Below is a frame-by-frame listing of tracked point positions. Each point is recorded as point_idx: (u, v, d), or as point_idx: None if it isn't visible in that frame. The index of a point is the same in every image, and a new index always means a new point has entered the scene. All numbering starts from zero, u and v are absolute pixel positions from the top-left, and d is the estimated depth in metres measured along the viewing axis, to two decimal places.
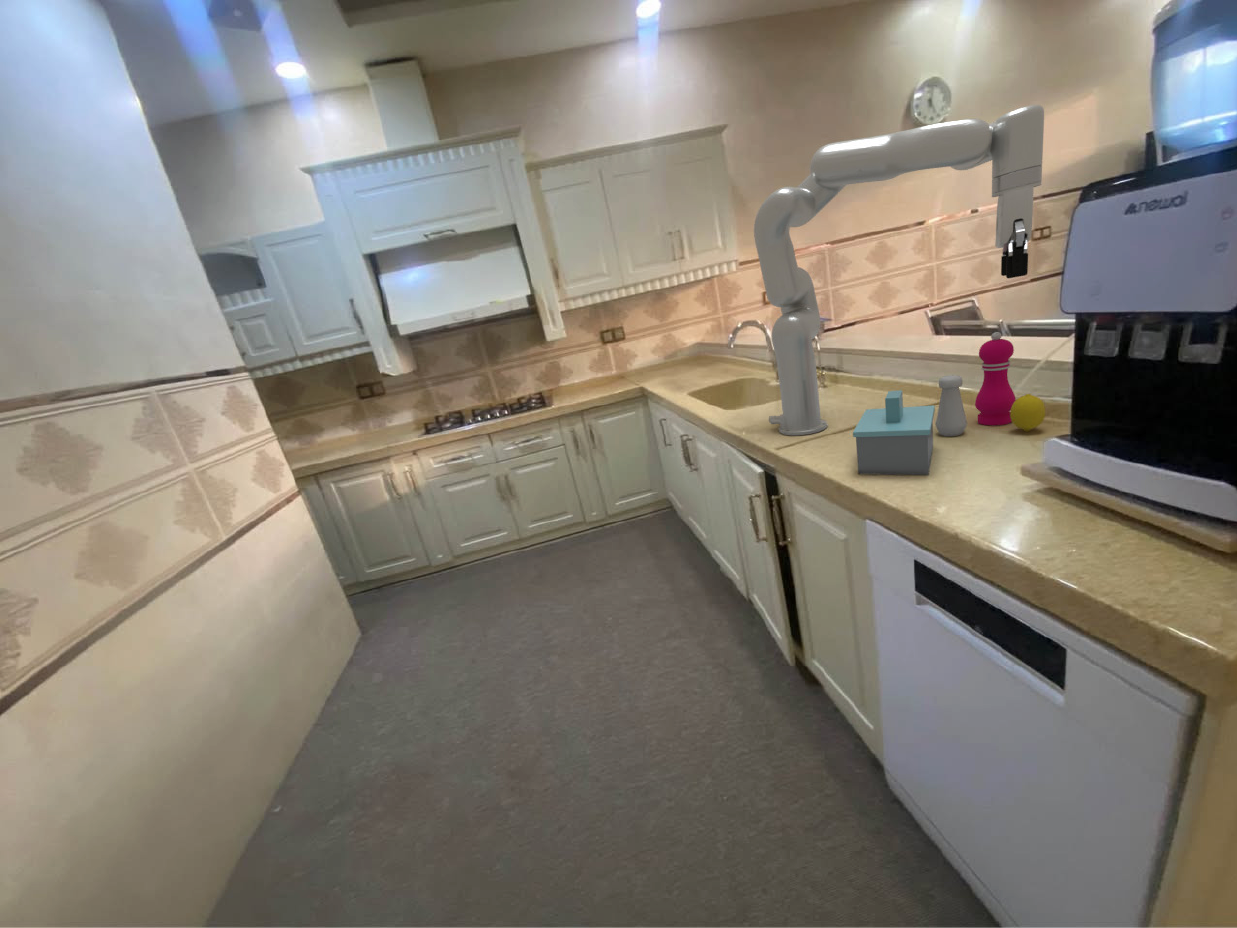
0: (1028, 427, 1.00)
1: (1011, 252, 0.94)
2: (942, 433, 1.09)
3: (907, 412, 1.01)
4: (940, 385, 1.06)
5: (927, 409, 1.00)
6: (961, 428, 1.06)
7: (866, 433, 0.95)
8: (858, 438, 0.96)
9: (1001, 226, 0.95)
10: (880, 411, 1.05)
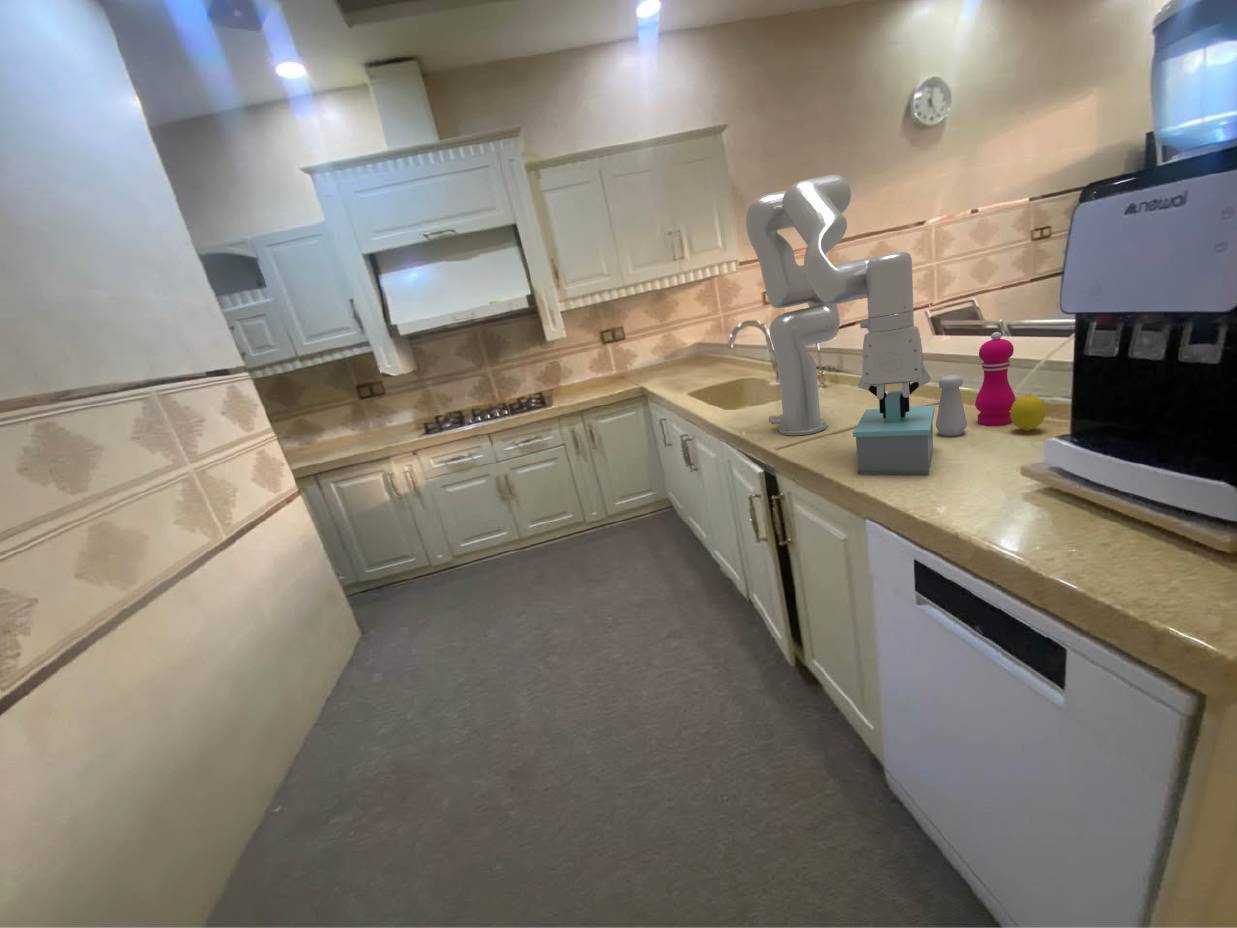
0: (1028, 427, 1.00)
1: (909, 394, 0.95)
2: (942, 433, 1.09)
3: (907, 412, 1.01)
4: (940, 385, 1.06)
5: (927, 409, 1.00)
6: (961, 428, 1.06)
7: (866, 433, 0.95)
8: (858, 438, 0.96)
9: (918, 360, 0.91)
10: None
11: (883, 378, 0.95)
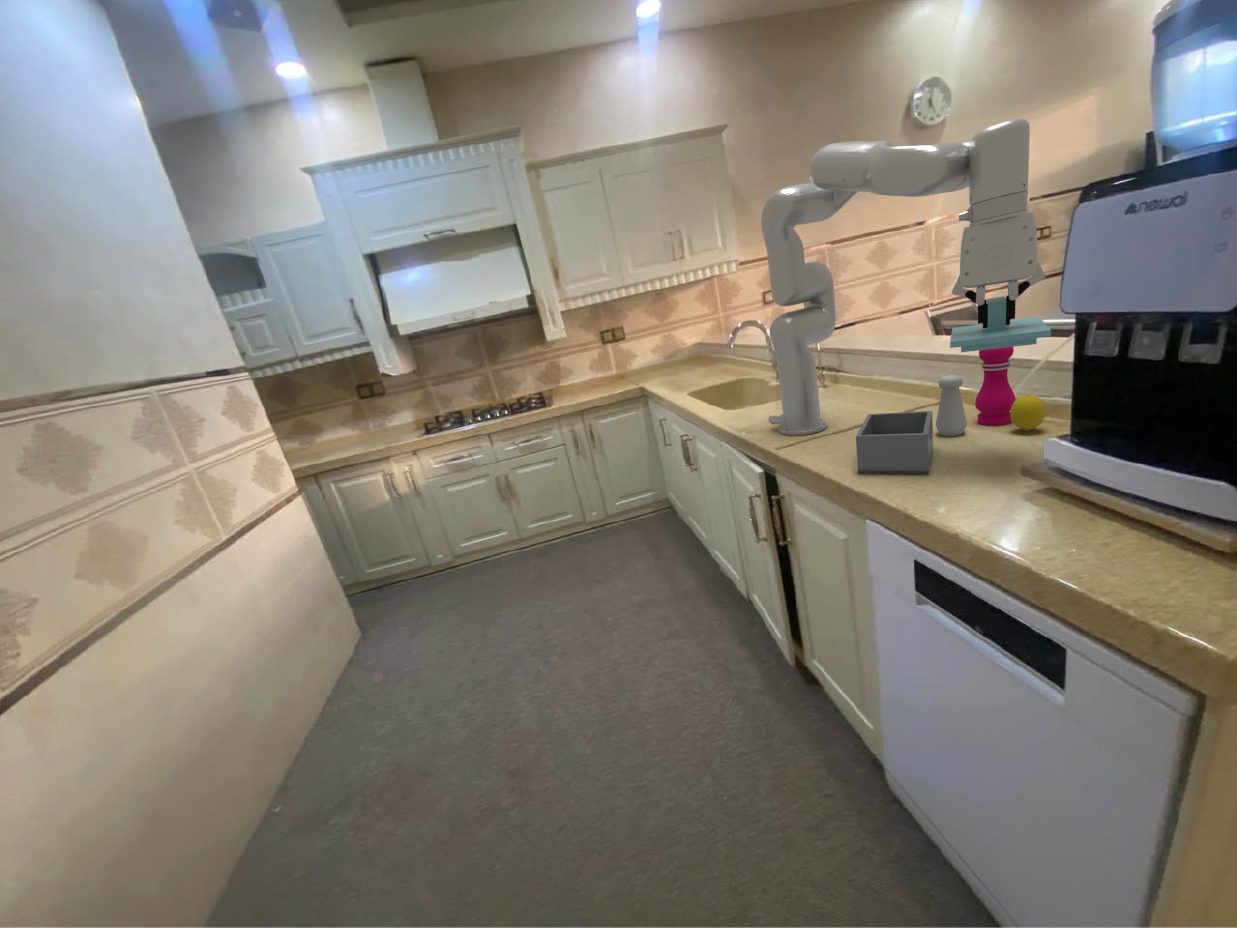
0: (1028, 427, 1.00)
1: (1017, 296, 0.81)
2: (942, 433, 1.09)
3: None
4: (940, 385, 1.06)
5: (1032, 319, 0.86)
6: (961, 428, 1.06)
7: (967, 342, 0.81)
8: (858, 438, 0.96)
9: (1034, 251, 0.77)
10: (972, 327, 0.92)
11: (987, 277, 0.81)
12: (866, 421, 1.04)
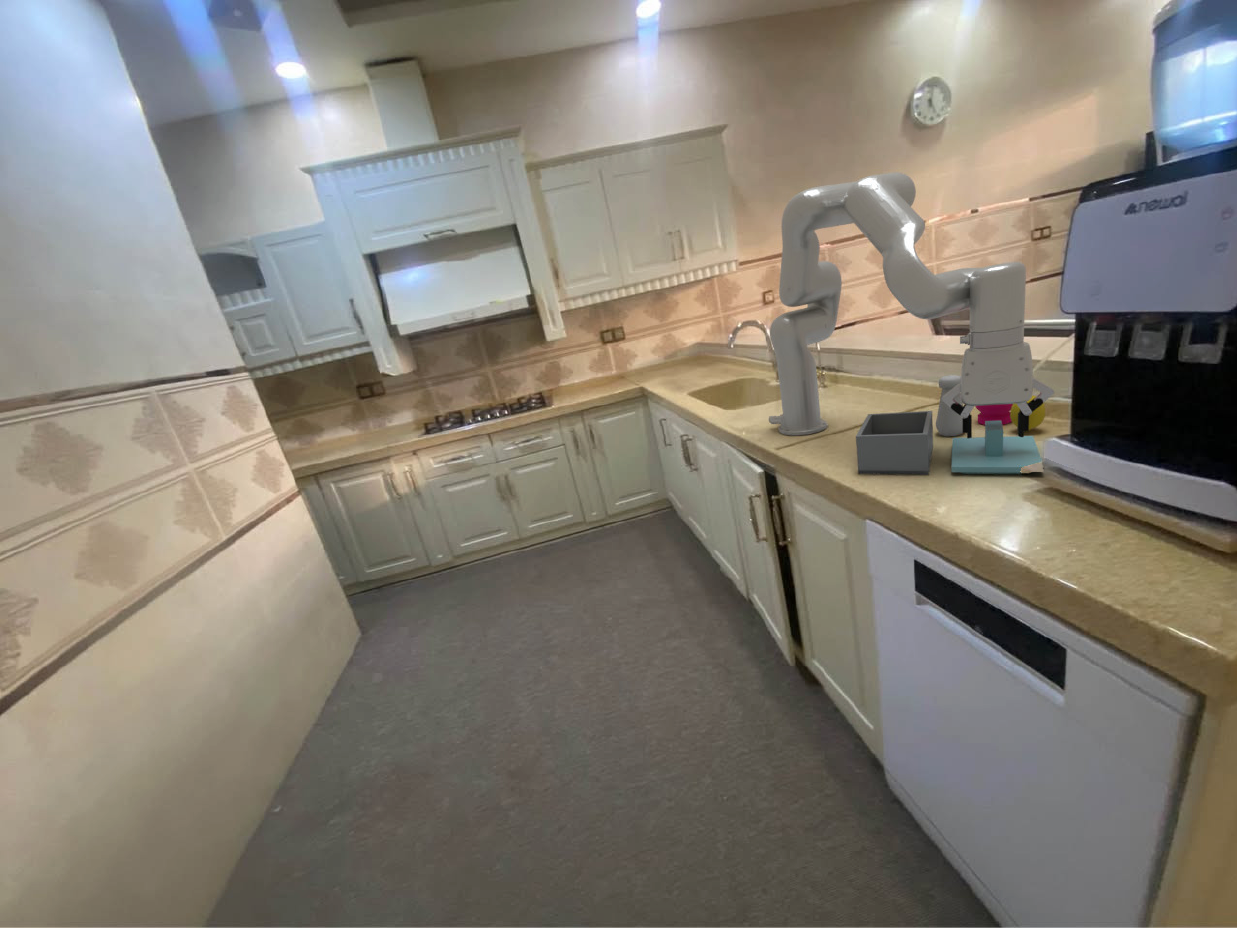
0: None
1: (1031, 411, 0.86)
2: (942, 433, 1.09)
3: (1004, 443, 0.94)
4: (940, 385, 1.06)
5: (1027, 440, 0.93)
6: (961, 428, 1.06)
7: (967, 468, 0.88)
8: (858, 438, 0.96)
9: (1029, 380, 0.83)
10: (971, 441, 0.98)
11: (986, 398, 0.87)
12: (866, 421, 1.04)
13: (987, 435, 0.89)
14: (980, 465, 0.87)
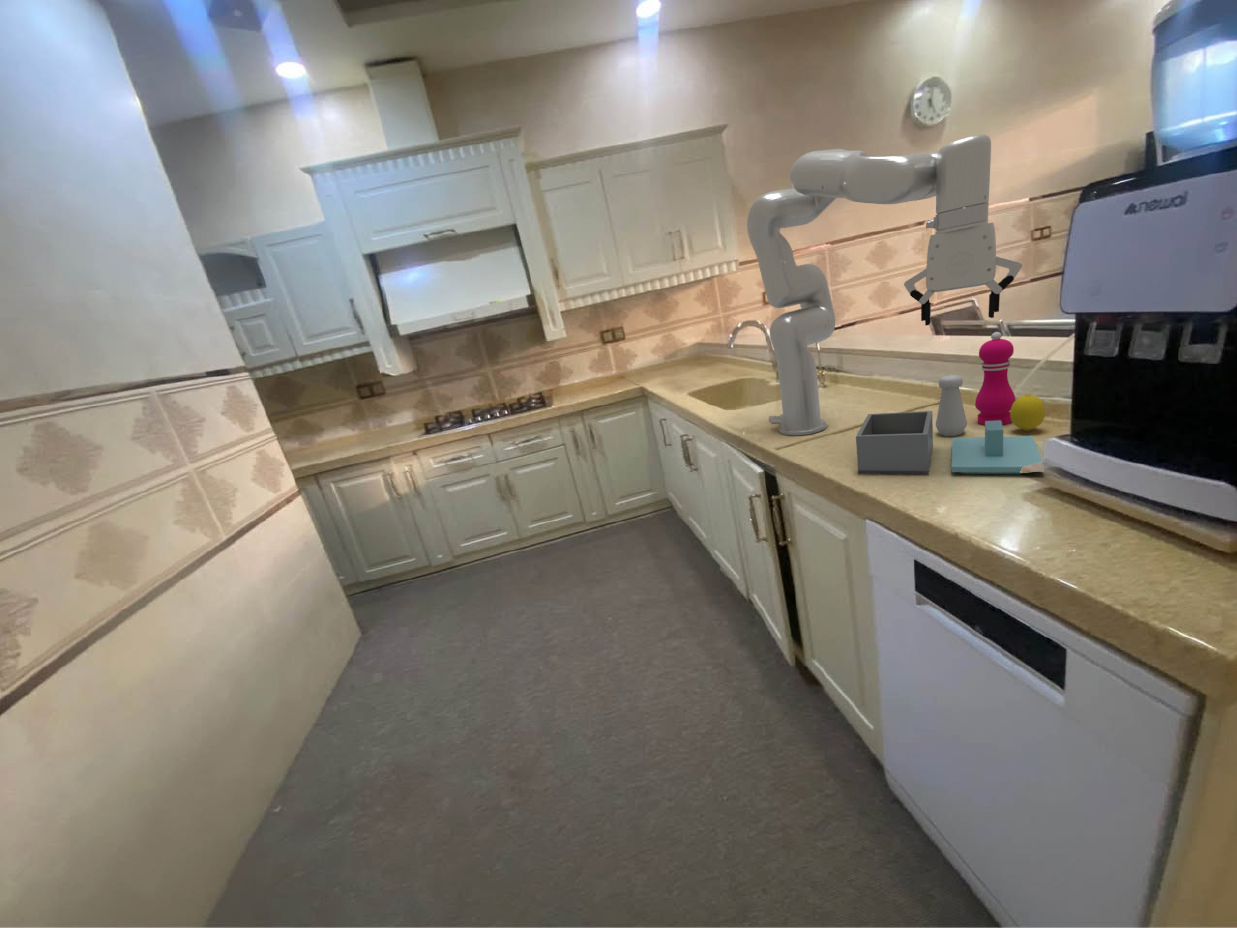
0: (1028, 427, 1.00)
1: (1002, 288, 0.85)
2: (942, 433, 1.09)
3: (1004, 443, 0.94)
4: (940, 385, 1.06)
5: (1026, 440, 0.93)
6: (961, 428, 1.06)
7: (968, 468, 0.88)
8: (858, 438, 0.96)
9: (992, 259, 0.83)
10: (971, 441, 0.98)
11: (950, 283, 0.87)
12: (866, 421, 1.04)
13: (987, 435, 0.89)
14: (980, 465, 0.87)
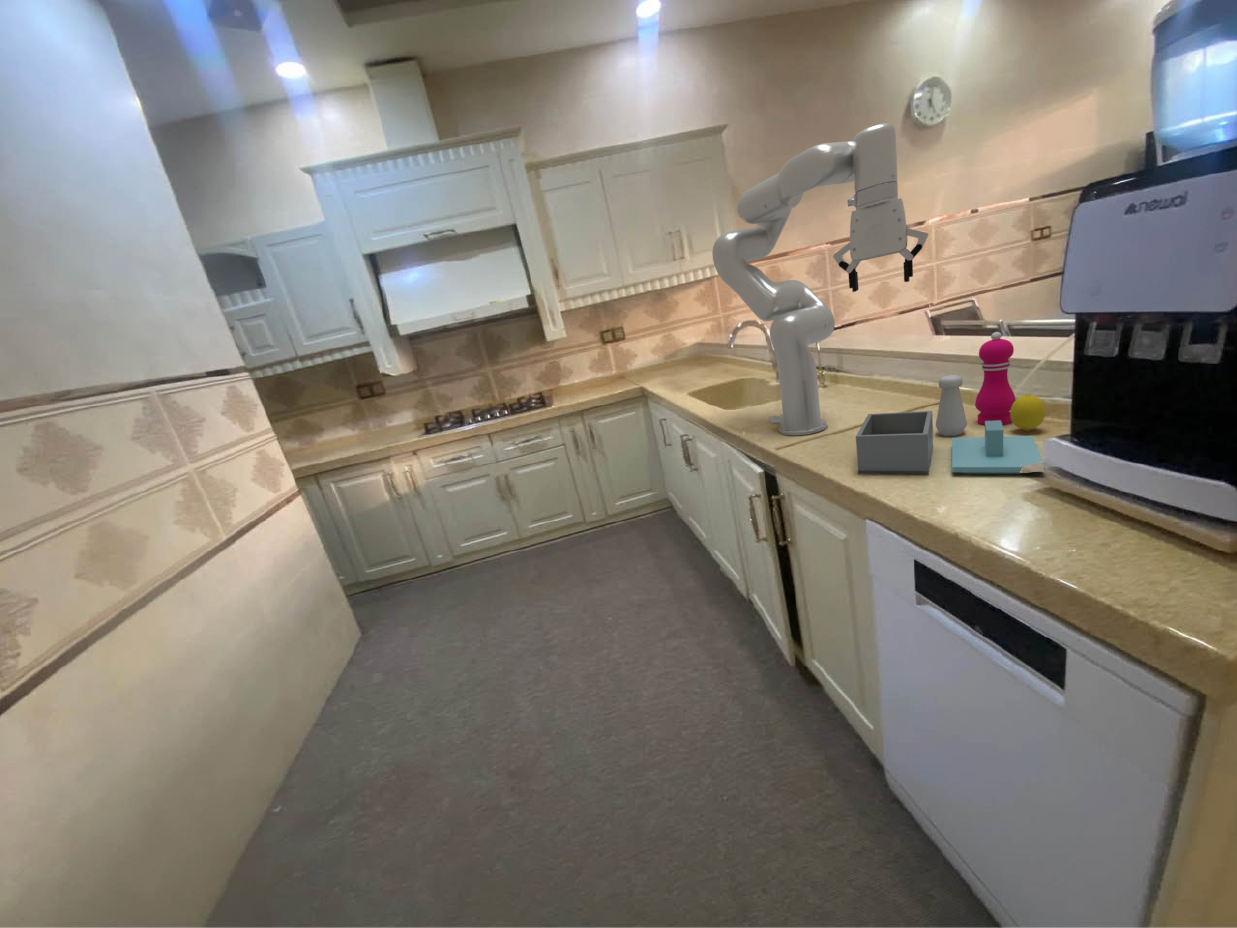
0: (1028, 427, 1.00)
1: (913, 255, 0.97)
2: (942, 433, 1.09)
3: (1004, 443, 0.94)
4: (940, 385, 1.06)
5: (1026, 440, 0.93)
6: (961, 428, 1.06)
7: (968, 468, 0.87)
8: (858, 438, 0.96)
9: (902, 230, 0.96)
10: (970, 441, 0.98)
11: (869, 252, 1.00)
12: (866, 421, 1.04)
13: (987, 435, 0.89)
14: (981, 465, 0.87)
